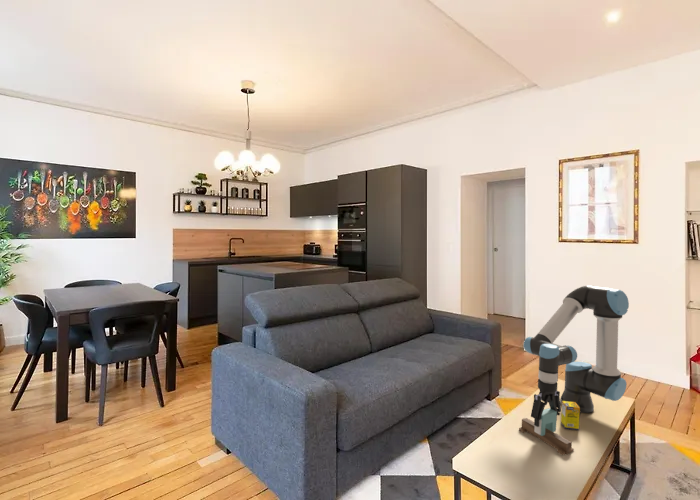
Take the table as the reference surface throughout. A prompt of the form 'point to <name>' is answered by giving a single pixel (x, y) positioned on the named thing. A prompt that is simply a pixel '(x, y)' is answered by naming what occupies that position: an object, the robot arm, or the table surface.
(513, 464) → the table surface
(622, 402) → the table surface
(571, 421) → the supplement box
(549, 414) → the slotted block
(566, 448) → the rail
